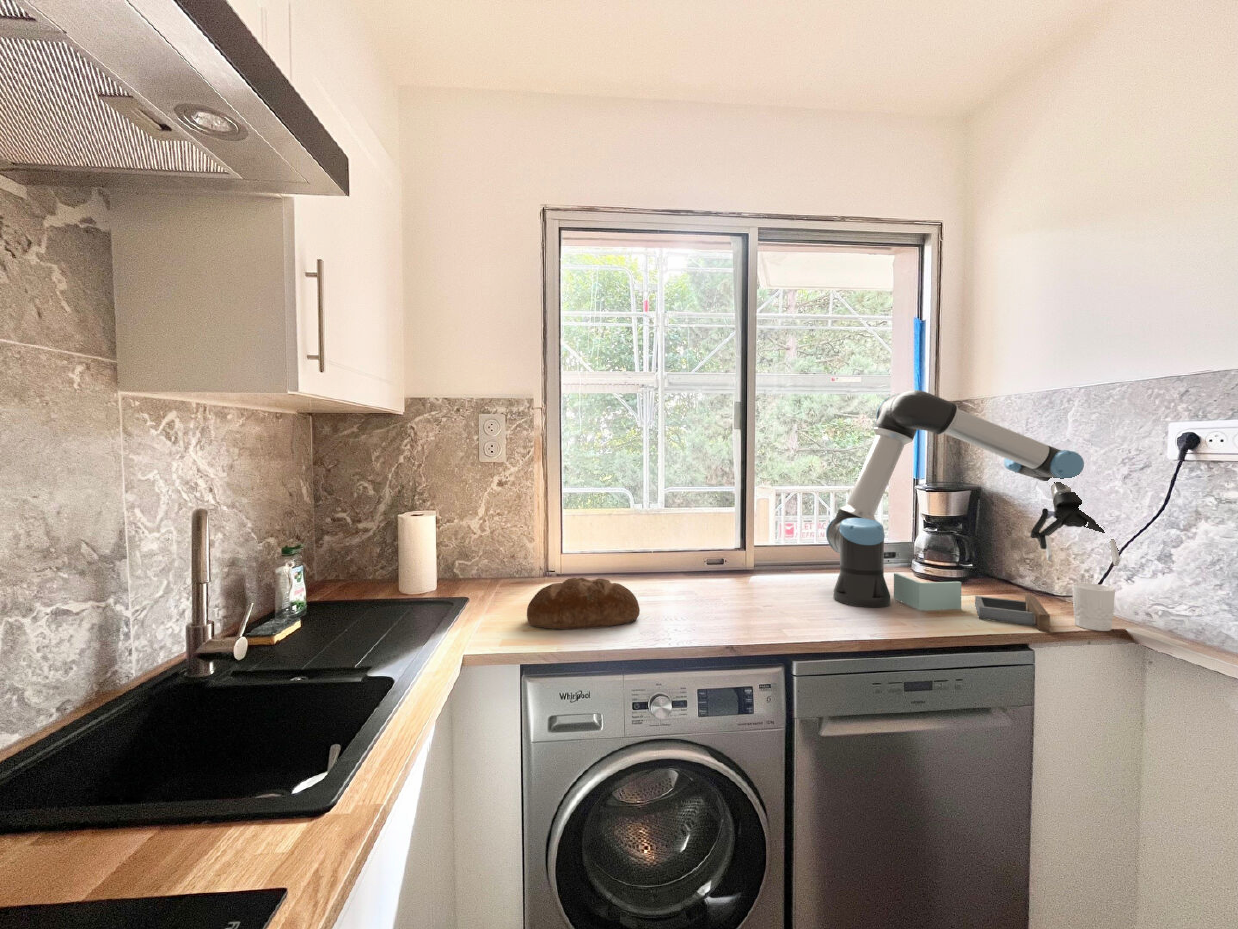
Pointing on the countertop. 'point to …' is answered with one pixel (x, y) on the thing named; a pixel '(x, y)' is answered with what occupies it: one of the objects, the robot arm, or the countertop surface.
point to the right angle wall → (927, 593)
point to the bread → (582, 605)
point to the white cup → (1093, 606)
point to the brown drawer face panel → (1038, 613)
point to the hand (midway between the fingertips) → (1082, 560)
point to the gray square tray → (1004, 610)
